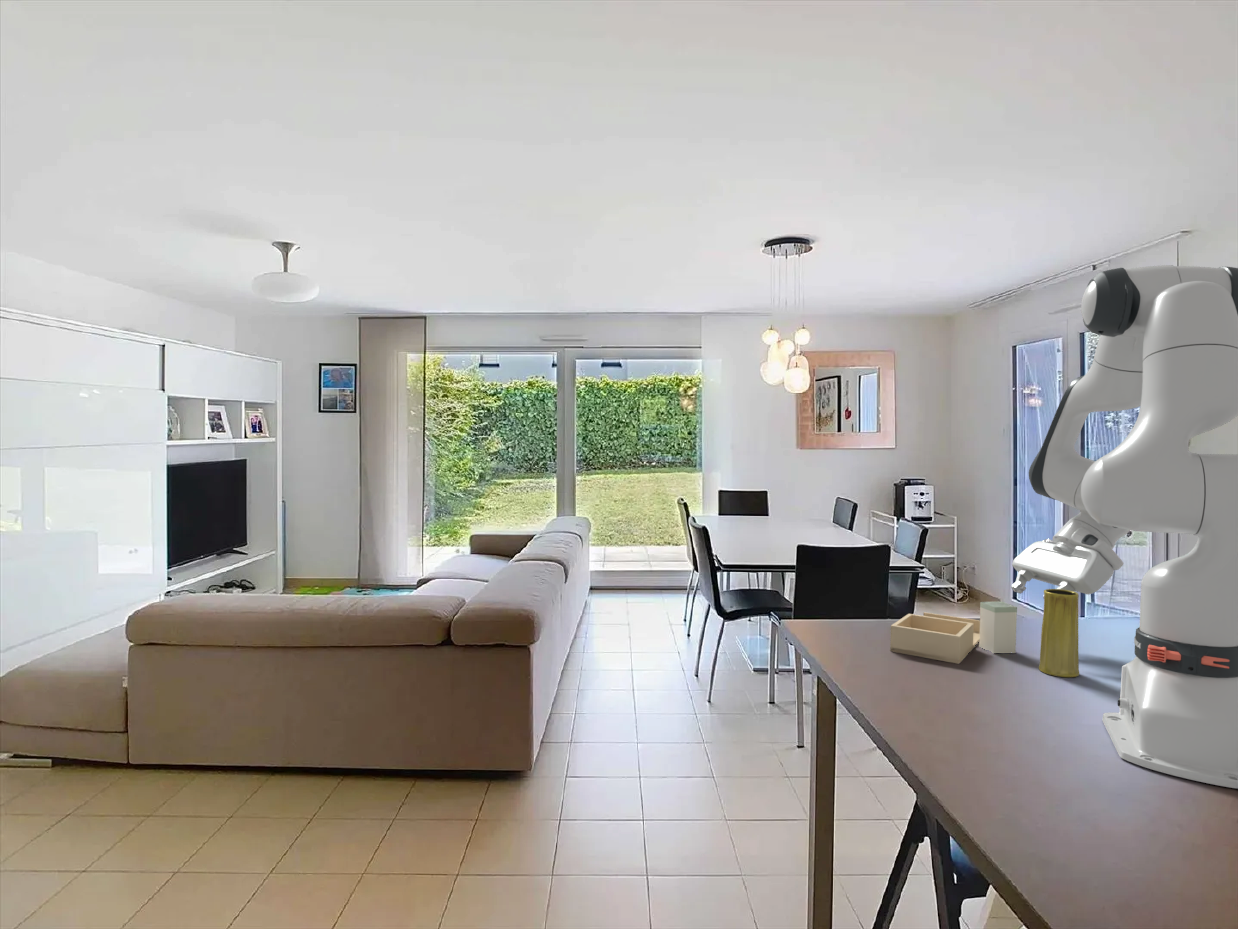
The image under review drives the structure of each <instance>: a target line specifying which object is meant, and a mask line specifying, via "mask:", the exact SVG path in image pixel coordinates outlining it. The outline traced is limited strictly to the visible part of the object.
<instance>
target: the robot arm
mask: <svg viewBox="0 0 1238 929" xmlns="http://www.w3.org/2000/svg"><path fill="white" fill-rule="evenodd" d="M1080 311H1081V316H1082V321H1083V324H1084V326H1085V327H1086V328H1087V329H1088V330H1089V331H1090V332H1091V333H1093V334H1096V335H1099V338H1098V341H1097V343H1096V347H1095V350H1094V352H1095V353H1094V355H1093V360H1092V363H1091V366H1090V368H1089V369H1088V371H1087V372H1086V373H1085V374H1084V375H1081V376H1078V377H1076V378H1074V380H1072V381H1071V382H1070V384H1069V386H1068V387H1067V388H1066V390H1065V391H1064V393H1063V396H1062V398H1061V400H1060V402H1059V404H1058V406H1057V409H1056V411H1055V413H1054V416H1053V418H1052V420H1051V423H1050V425H1049V429H1048V431H1047V433H1046V435H1045V438H1044V440H1043V443H1042V445H1041V447H1040V449H1039V451H1038V453H1037V454H1036V455H1035V457H1034V459H1033V461H1032V463H1031V465H1030V467H1029V469H1028V478H1029V483H1030V485H1031V488H1032V489H1033V492H1034V493H1036V494H1037V495H1040V496H1043V497H1045V498H1049V499H1051V500H1056V501H1058V502H1060V503H1062V504H1064V505H1067V506H1069V507H1072V508H1073V509H1076V510H1078V511H1079V512H1078V514H1076V515H1075V516H1073V517H1071V518H1070V519H1069V520H1068V521H1067V522H1066V523H1064V524H1063V526H1062V527H1060V529H1058V531H1057V532H1056V533H1055V534H1054V535H1053V536H1052V539H1051V538H1050V539H1049V538H1047V539H1046V538H1045V539H1044V540H1039V541H1034V542H1033V543H1031V544H1030V545H1028V546H1027V547H1026V548H1025V549H1023V550H1022V551H1021V552H1020V553H1019V554H1018V555H1017V556H1016V557H1015V558H1014V559H1013V560H1012V563H1011V565H1012V567H1013V568H1014V570H1015V571H1016V572H1017V575H1016V579H1015V582H1013V583H1012V584H1011V585H1010V588H1011V590H1012V591H1013V592H1014V593H1017V594H1023V592H1024V591H1026V589H1027V587H1026V584H1027V582H1030V581H1031V580H1032V579H1033V580H1035V581H1039V582H1044V583H1047V584H1050V585H1054V586H1057V587H1056V589H1062V590H1069V591H1074V592H1076V593H1081V594H1084V595H1091V594H1094V593H1096V592H1098V591H1099V590H1100V589H1101V588H1102V587H1103V586H1104V585H1105V584H1106V583H1107V582H1108V581H1109V580H1110V579H1111V578H1112V577H1113V574H1114V572H1115V571H1118V570H1119V569H1121V567H1123V566H1124V561H1123V560H1122V559H1121V558H1120V557H1119V555H1118V554H1117V553H1116V552H1115V551H1114V550H1113V549H1114V548H1115V545H1116V543H1117V541H1119V539H1121V538H1123V537H1124V536H1126V535H1127V534H1128V533H1129V532H1130V531H1133V532H1145V533H1146V532H1147V533H1158V534H1159V533H1163V534H1181V535H1183V534H1184V535H1193V536H1197V541H1196V543H1195V545H1194V546H1193V547H1192V549H1191V550H1190V551H1189V552H1187V553H1186V554H1183V555H1181V556H1178V557H1175V558H1171V559H1168V560H1165V561H1163V562H1160V563H1158V564H1156V565H1154V566H1152V567H1151V568H1149V569H1148V570H1147V571H1146V572H1145V573H1144V575H1143V577H1142V579H1141V581H1140V600H1139V602H1140V603H1139V604H1140V607H1139V608H1140V609H1139V627H1137V628H1136V629H1135V636H1134V638H1133V639H1134V640H1133V643H1134V655H1135V657H1134V658H1133V659H1132V660H1131V661H1129V662H1127V663H1125V664H1124V665H1122V666H1121V676H1120V677H1121V680H1120V693H1119V694H1120V698H1118V699H1117V706H1118V709H1119V712H1104V713H1103V715H1102V719H1101V720H1102V723H1103V724H1104V727H1105V729H1106V731H1107V733H1108V736H1109V737H1110V739H1111V741H1112V744H1113V746H1114V748H1115V750H1116V752H1117V754H1118V755H1119V756H1118V757H1120V758H1121V759H1123V760H1125V761H1127V762H1130V763H1132V764H1134V765H1137V766H1140V767H1143V768H1147V769H1150V770H1153V771H1155V772H1159V773H1162V774H1167V775H1170V776H1174V777H1178V778H1182V779H1187V780H1191V781H1196V782H1201V783H1204V784H1205V783H1206V784H1208V785H1209V784H1210V785H1215V786H1220V787H1226V788H1230V789H1231V788H1232V789H1237V790H1238V453H1237V454H1232V453H1230V454H1229V453H1228V454H1227V453H1197V452H1191V451H1190V450H1189V444H1190V440H1191V439H1192V438H1194V437H1196V436H1200V435H1201V434H1204V433H1206V432H1209V431H1212V430H1215V429H1217V428H1220V427H1223V426H1224V425H1226V424H1228V423H1230V422H1232V421H1233V420H1234V419H1236V418H1237V417H1238V267H1233V266H1222V265H1221V266H1219V267H1210V266H1197V265H1196V266H1194V265H1191V266H1190V265H1177V266H1176V265H1173V264H1166V265H1165V264H1164V265H1152V266H1151V265H1150V266H1141V267H1140V266H1139V267H1133V268H1126V269H1125V268H1124V267H1118V268H1117V267H1116V268H1112V269H1111V268H1110V269H1107V270H1102V271H1100V272H1098V273H1097V274H1095V275H1094V277H1092V278H1091V279H1090V280H1089V281H1088V283H1087V286H1086V288H1085V290H1084V292H1083V295H1082V298H1081V304H1080ZM1135 408H1139V412H1138V416H1137V418H1136V421H1135V423H1134V425H1133V426H1132V429H1131V430H1130V431H1129V433H1128V434H1127V435H1126V437H1125V439H1123V440H1122V441H1121V442H1120V443H1119V444H1118V445H1117V446H1116V447H1115V448H1113V449H1112V450H1110V451H1109V452H1108V453H1106V454H1104V455H1102V457H1099V458H1098V459H1096V460H1092V459H1090V458H1088V457H1084V456H1082V455H1080V454H1079V452H1077V450H1076V449H1075V444H1076V442H1077V440H1078V438H1079V435H1080V433H1081V431H1082V428H1083V426H1084V424H1085V423H1086V419H1087V418H1088V416H1089V415H1090V414H1091V413H1096V412H1122V411H1127V410H1132V409H1135ZM1043 599H1044V596H1043Z"/></svg>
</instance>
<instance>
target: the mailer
mask: <svg viewBox="0 0 1238 929" xmlns="http://www.w3.org/2000/svg"><path fill="white" fill-rule="evenodd" d="M922 614H923V615H920V614H914V613H907V614H906V615H904V616H903V617H902V618H900V619H898V620H897V621H895V622H893V623H892V624H891V625H890V639H889V640H890V646H889V648H890V649H889V651H890V652H893V653H897V654H903V655H908V656H914V657H919V658H926V659H930V660H938V661H942V662H946V663H951V664H958V665H959V664H960V663H961V662H962V661H963V660H964V659H965V658H966V657H967V656H968V655H969V654H970V653H971V652H972V651H973V649H974V648H975V647H976V646H977V645H979V643H978V642H979V636H980V619H974V618H973V619H972V618H966V617H960V616H954V615H953V616H952V615H947V614H938V613H933V612H927V611H926V612H923V613H922ZM976 644H977V645H976ZM975 645H976V646H975ZM969 652H970V653H969ZM968 653H969V654H968Z"/></svg>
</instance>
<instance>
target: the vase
mask: <svg viewBox="0 0 1238 929" xmlns="http://www.w3.org/2000/svg"><path fill="white" fill-rule="evenodd" d="M1043 597H1044V598H1043V600H1044V601H1043V615H1042V616H1043V617H1042V623H1041V634H1040V636H1041V637H1040V650H1039V652H1040V653H1039V664H1038V665H1039V666H1038V670H1039V671H1040V672H1042V673H1043V674H1046V675H1049V676H1053V677H1060V678H1068V679H1069V678H1077V677H1079V675H1080V670H1079V668H1080V666H1079V660H1080V659H1079V655H1080V654H1079V592H1077V591H1069V590H1062V589H1057V588H1047V589H1044V590H1043Z"/></svg>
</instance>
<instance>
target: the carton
mask: <svg viewBox="0 0 1238 929" xmlns="http://www.w3.org/2000/svg"><path fill="white" fill-rule="evenodd" d="M979 604H980V605H979V607H980V608H979V620H980V636H979V643H978V647H979V648H980V647H981V648H980V649H982V648H983V650H984V649H985V650H984V651H986V650H989V651H991V652H992V653H1011V652H1012V653H1017V651H1016V649H1017V647H1016V646H1017V619H1018V618H1017V613H1018V607H1017V606H1015V605H1013V604H1009V603H1007V602H1005V601H980V602H979ZM992 653H991V654H992Z"/></svg>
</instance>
